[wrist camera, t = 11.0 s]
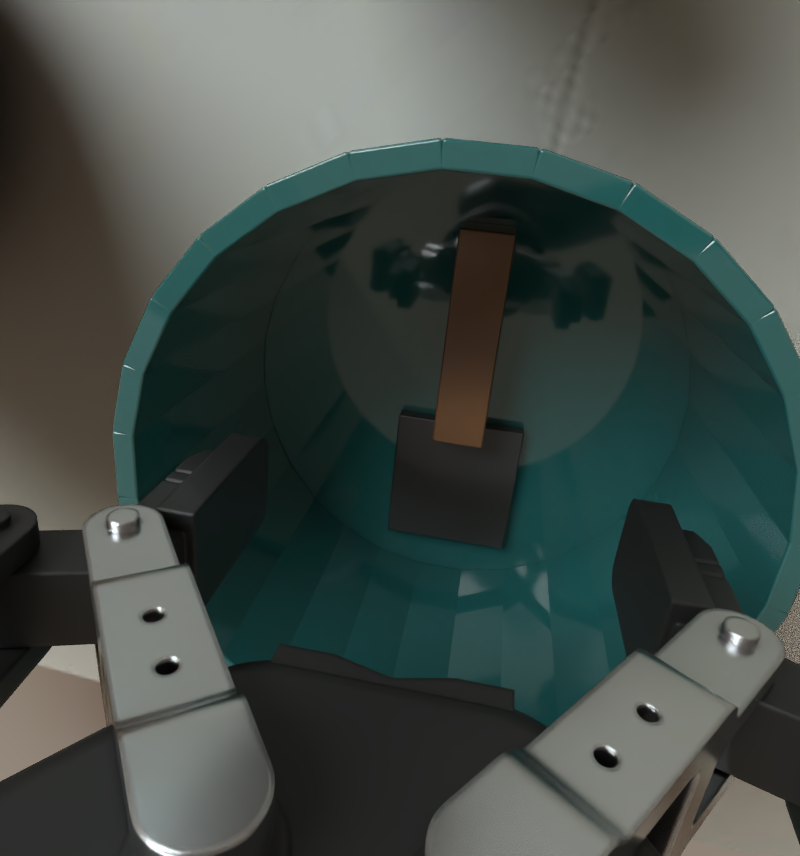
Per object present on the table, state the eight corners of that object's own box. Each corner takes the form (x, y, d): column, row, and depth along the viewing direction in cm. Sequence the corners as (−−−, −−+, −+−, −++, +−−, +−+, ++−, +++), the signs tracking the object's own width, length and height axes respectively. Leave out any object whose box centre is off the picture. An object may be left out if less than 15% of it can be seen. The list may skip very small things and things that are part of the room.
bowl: (260, 122, 23) (82, 100, 14) (765, 174, 22) (964, 191, 12) (255, 533, 30) (134, 709, 21) (638, 601, 28) (701, 829, 19)
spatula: (421, 215, 23) (412, 221, 21) (561, 231, 22) (565, 240, 20) (389, 522, 28) (378, 554, 26) (502, 542, 27) (501, 575, 25)
